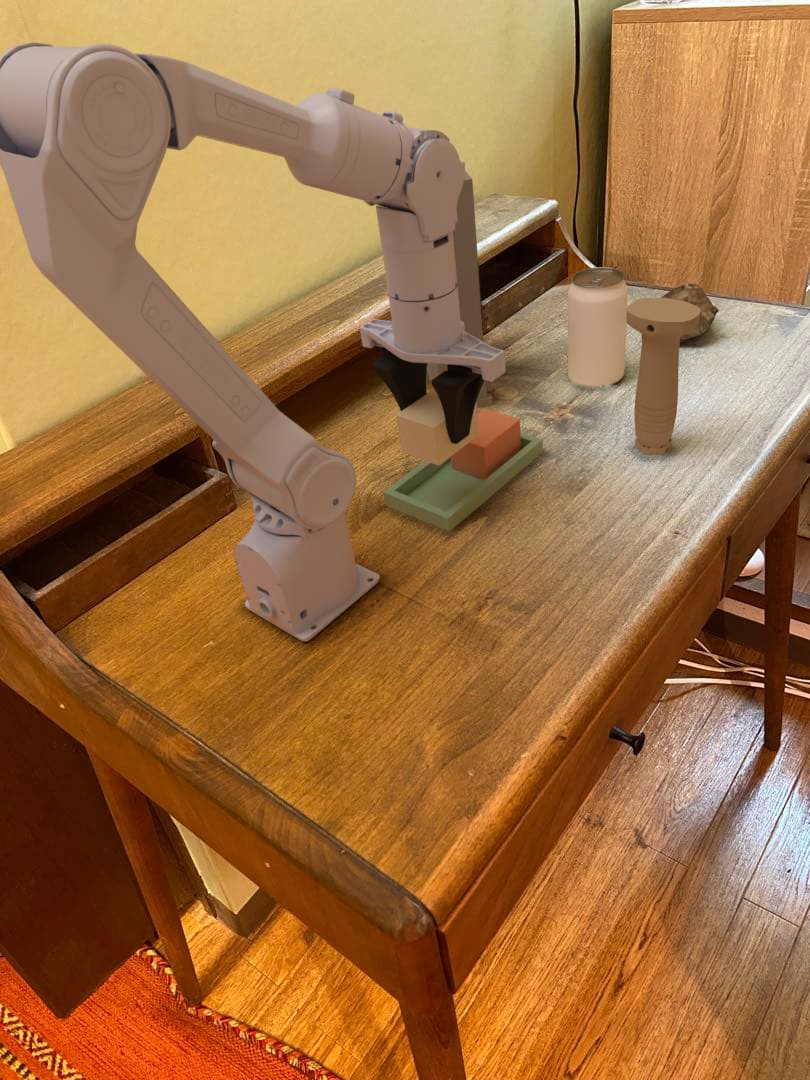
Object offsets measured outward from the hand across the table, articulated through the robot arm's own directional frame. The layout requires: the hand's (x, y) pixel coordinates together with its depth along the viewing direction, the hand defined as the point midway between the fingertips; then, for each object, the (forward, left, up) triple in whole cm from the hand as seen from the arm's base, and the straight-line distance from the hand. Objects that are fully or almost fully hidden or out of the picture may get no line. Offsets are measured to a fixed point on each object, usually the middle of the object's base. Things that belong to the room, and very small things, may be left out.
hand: (438, 431), depth 75 cm
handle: (+18, -12, -8) cm, 23 cm away
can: (+29, +1, -8) cm, 30 cm away
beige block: (0, 0, -1) cm, 1 cm away
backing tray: (+4, +1, -8) cm, 9 cm away
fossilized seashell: (+44, -2, -8) cm, 45 cm away
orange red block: (+7, +1, -8) cm, 11 cm away
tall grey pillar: (+19, +14, -8) cm, 25 cm away
